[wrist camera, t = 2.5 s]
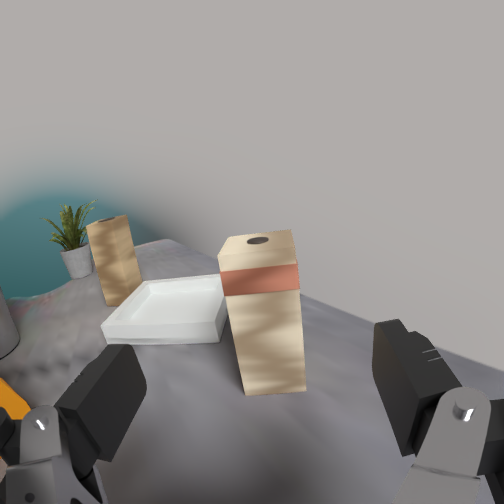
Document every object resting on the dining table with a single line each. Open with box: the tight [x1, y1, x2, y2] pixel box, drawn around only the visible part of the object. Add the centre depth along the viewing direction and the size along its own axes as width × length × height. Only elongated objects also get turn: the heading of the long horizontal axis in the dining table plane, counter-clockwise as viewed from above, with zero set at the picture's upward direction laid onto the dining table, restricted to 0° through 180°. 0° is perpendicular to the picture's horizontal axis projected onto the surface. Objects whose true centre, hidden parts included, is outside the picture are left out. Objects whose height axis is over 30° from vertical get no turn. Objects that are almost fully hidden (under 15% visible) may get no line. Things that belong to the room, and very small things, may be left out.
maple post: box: [218, 230, 306, 396], centre depth 21 cm, size 5×5×11 cm
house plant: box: [45, 202, 94, 279], centre depth 56 cm, size 14×14×16 cm
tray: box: [101, 274, 228, 345], centre depth 35 cm, size 13×13×2 cm
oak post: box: [86, 215, 142, 306], centre depth 41 cm, size 4×4×12 cm
